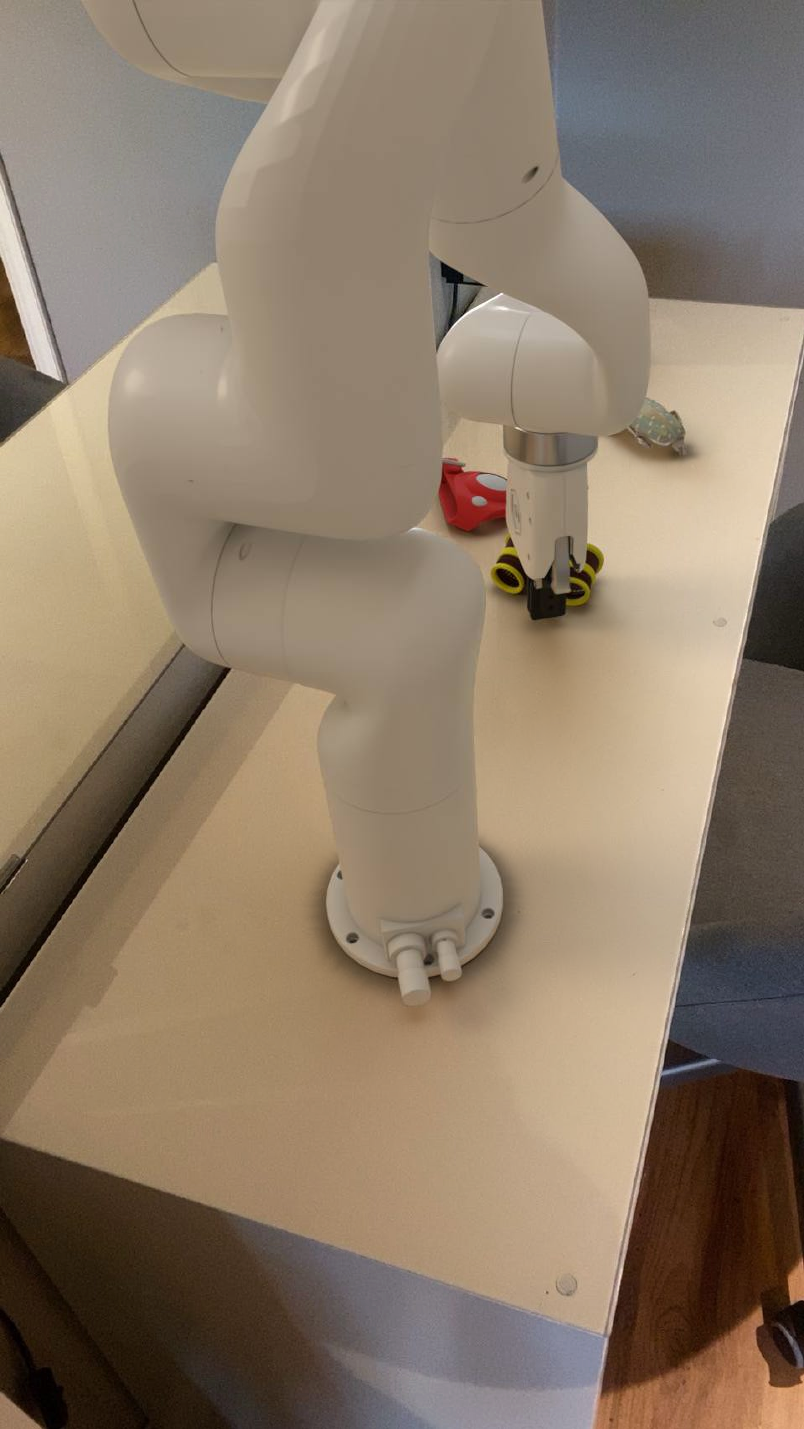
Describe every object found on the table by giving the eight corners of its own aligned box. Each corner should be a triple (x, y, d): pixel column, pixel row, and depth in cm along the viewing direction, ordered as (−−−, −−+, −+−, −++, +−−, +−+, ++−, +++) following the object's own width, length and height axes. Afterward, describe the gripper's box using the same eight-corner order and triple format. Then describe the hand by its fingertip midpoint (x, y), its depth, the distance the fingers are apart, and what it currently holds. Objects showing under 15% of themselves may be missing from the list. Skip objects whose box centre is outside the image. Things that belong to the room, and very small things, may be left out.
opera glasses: (490, 596, 101) (485, 560, 97) (509, 557, 103) (505, 520, 99) (587, 617, 97) (587, 581, 93) (604, 576, 100) (604, 539, 96)
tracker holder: (543, 481, 111) (513, 512, 103) (530, 518, 113) (500, 551, 105) (440, 439, 113) (403, 467, 105) (430, 477, 116) (393, 506, 108)
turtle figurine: (688, 403, 120) (685, 367, 116) (686, 468, 114) (684, 432, 110) (610, 411, 123) (605, 376, 119) (605, 475, 117) (599, 440, 113)
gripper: (484, 394, 88) (488, 571, 101) (525, 488, 77) (524, 673, 90) (572, 381, 88) (565, 559, 101) (625, 473, 78) (609, 659, 90)
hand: (546, 612), depth 95 cm, fingers closed
